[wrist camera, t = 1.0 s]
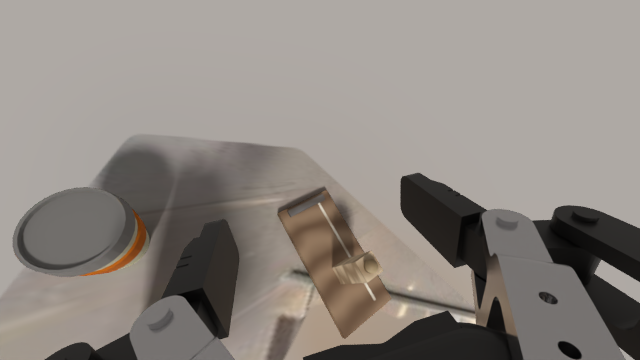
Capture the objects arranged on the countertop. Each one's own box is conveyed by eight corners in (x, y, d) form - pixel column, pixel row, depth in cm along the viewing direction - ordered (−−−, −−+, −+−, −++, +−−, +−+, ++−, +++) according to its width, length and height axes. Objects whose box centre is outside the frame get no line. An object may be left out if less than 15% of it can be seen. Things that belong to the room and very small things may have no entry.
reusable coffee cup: (153, 276, 45) (116, 271, 32) (71, 283, 41) (-10, 280, 28) (164, 213, 50) (136, 186, 37) (91, 214, 46) (31, 184, 33)
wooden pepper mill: (354, 274, 54) (386, 270, 42) (341, 284, 53) (370, 282, 40) (345, 258, 55) (374, 250, 43) (332, 267, 54) (357, 261, 41)
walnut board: (388, 298, 56) (393, 298, 54) (342, 337, 50) (346, 339, 47) (324, 191, 63) (327, 188, 60) (277, 214, 57) (278, 211, 54)
